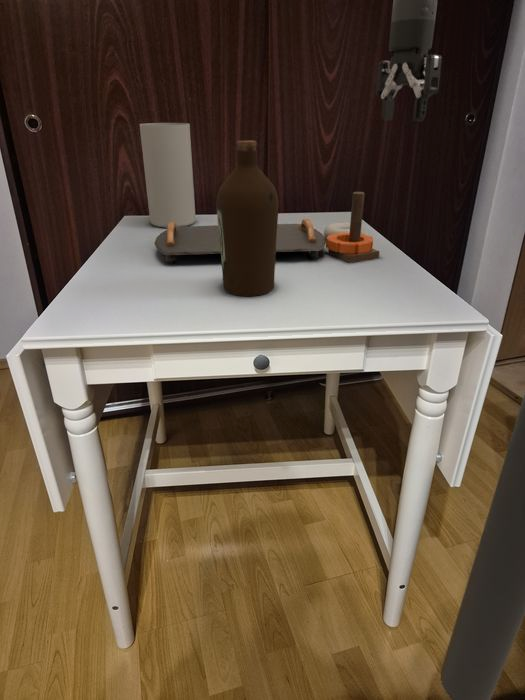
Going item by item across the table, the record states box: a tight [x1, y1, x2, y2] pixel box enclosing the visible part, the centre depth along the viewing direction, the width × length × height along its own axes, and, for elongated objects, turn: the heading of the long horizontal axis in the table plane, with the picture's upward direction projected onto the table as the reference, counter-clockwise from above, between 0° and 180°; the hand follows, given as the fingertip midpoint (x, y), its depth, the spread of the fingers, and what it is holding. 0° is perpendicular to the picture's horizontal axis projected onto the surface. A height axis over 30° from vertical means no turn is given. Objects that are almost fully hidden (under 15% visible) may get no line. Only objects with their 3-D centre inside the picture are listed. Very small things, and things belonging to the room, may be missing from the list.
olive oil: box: [215, 139, 280, 297], centre depth 84 cm, size 11×11×25 cm
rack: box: [327, 191, 381, 264], centre depth 104 cm, size 8×8×14 cm
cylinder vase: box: [139, 122, 196, 229], centre depth 129 cm, size 12×12×25 cm
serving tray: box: [153, 218, 327, 265], centre depth 110 cm, size 39×23×6 cm, turn 96°
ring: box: [325, 232, 374, 254], centre depth 107 cm, size 10×10×2 cm
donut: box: [323, 222, 366, 240], centre depth 118 cm, size 10×4×10 cm
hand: (401, 121), depth 93 cm, fingers open, 8 cm apart
